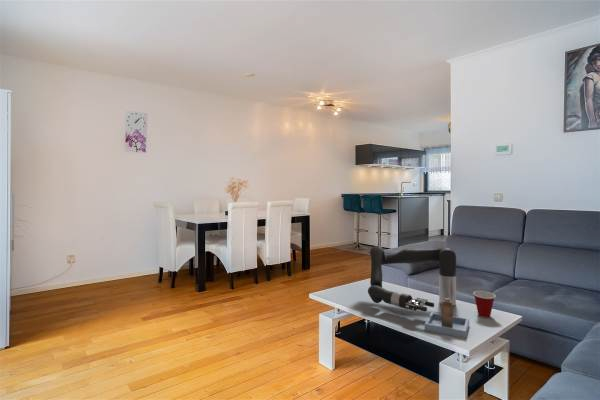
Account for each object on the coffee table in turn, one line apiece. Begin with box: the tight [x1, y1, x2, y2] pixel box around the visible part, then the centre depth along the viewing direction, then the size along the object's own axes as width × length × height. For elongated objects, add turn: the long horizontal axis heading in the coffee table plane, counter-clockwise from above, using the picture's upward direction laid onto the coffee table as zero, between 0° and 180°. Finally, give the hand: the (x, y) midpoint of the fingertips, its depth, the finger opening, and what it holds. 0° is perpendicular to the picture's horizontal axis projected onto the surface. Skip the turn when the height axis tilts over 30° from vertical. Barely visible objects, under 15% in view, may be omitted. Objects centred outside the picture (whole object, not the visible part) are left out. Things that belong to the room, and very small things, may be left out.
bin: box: [424, 312, 470, 339], centre depth 166 cm, size 18×18×3 cm
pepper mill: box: [441, 298, 454, 328], centre depth 166 cm, size 5×5×14 cm
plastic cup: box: [472, 290, 497, 318], centre depth 182 cm, size 11×11×12 cm
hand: (430, 307), depth 172 cm, fingers open, 8 cm apart
